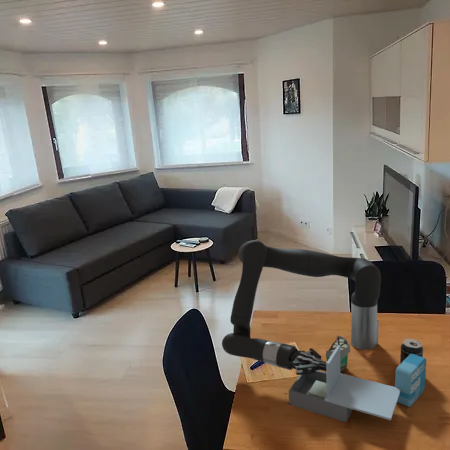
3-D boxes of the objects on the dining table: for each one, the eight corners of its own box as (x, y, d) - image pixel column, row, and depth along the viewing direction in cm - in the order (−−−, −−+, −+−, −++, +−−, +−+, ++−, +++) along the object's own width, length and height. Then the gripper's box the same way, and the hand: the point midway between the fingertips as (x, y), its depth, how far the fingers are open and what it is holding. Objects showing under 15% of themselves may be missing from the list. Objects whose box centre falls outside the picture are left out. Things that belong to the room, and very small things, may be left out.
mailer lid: (324, 400, 130) (324, 366, 127) (339, 374, 142) (339, 342, 139) (390, 420, 120) (392, 383, 117) (401, 390, 132) (402, 355, 129)
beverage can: (417, 383, 143) (419, 350, 140) (396, 376, 148) (397, 344, 145) (424, 373, 148) (426, 341, 145) (404, 366, 153) (405, 335, 149)
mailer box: (289, 404, 137) (288, 390, 136) (305, 380, 149) (305, 367, 148) (346, 422, 128) (346, 407, 127) (359, 395, 140) (359, 381, 138)
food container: (343, 382, 146) (343, 355, 144) (325, 377, 150) (325, 351, 147) (354, 363, 156) (354, 338, 154) (337, 359, 160) (337, 334, 157)
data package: (408, 409, 132) (410, 374, 129) (393, 403, 135) (395, 368, 132) (424, 390, 140) (427, 356, 137) (410, 384, 143) (412, 351, 140)
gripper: (270, 354, 137) (325, 368, 128) (287, 335, 148) (339, 346, 139) (271, 375, 139) (325, 391, 130) (288, 355, 149) (339, 367, 141)
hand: (332, 368), depth 134 cm, fingers closed
